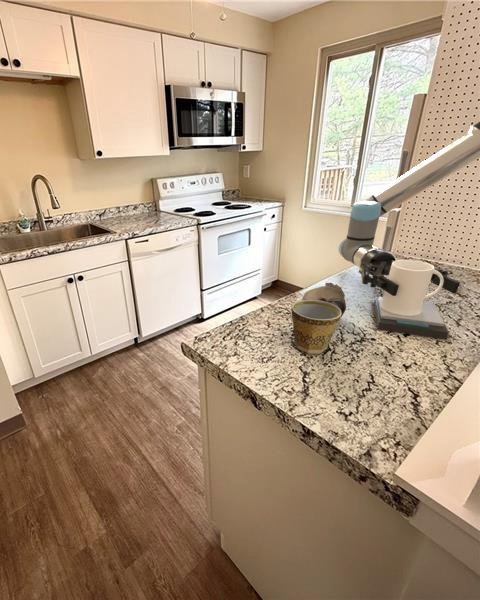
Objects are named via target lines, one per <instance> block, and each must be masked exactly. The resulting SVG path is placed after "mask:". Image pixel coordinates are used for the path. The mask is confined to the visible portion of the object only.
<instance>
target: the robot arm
mask: <svg viewBox="0 0 480 600" xmlns="http://www.w3.org/2000/svg"><path fill="white" fill-rule="evenodd" d="M479 159H480V121H478V122H476V123H475V124H474V125H472V126H470V129H469V131H468V132H467V134H465V135H463V136H462V137H461V138H459V139H457V140H455V141H454V142H452V143H451V144H449V145H448V146H446V147H445V148H443V149H442V150H440V151H438V152H437V153H436V154H433V155H432V156H431V157H429V158H428V159H426V160H424V161H422V162H421V163H420V164H418V165H417V166H415V167H413V168H412V169H410V170H409V171H407V172H405V174H403V175H401V176H400V177H398V178H397V179H395V180H394V181H392V182H390V183H389V184H387V185H386V186H384V187H383V188H381V189H379V190H378V191H377V192H375V193H374V194H372V195H371V196H369V197H367V198H366V199H364V200H360V201H357V202H355V203H353V204H352V208H351V210H350V217H349V221H348V229H347V234H346V237H345V238H344V239H343V240H342V241H341V242H340V244H339V245H338V253H339V255H340V256H341V257H342V258H343V259H344V261H345V260H346V261H347V262H350V263H351V264H353V265H355V266H356V267H358V274H360V275H361V283H362V284H363V285H368V284H370V286H369V287H370V288H373V289H375V288H377V287H378V288H379V289H382V290H383V291H384V292H385V291H386V292H388V293H389V294H391V295H392V296H396V294H397V291H398V287H399V285H397V284H395V283H394V282H392V281H390V280H389V279H388V277H386V276H389V273H390V269H391V265H392V262H394V261H397V260H396V257H395V256H394V255H393V254H392V253H390V252H389V251H386V250H384V249H382V248H380V247H377V246H375V245H374V241H375V238H376V233H377V228H378V224H379V221H380V217H383V216H384V215H385V214H387V213H389V212H390V211H392V210H393V209H395V208H397V207H399V206H401V205H402V204H404V203H405V202H407V201H409V200H411V199H413V198H414V197H416V196H417V195H420V194H421V193H423V192H424V191H426V190H427V189H429V188H431V187H433V186H435V185H436V184H438V183H440V182H441V181H443V180H444V179H447V178H448V177H450V176H451V175H453V174H455V173H456V172H459V170H462V169H463V168H466V167H467V166H468V165H471V164H472V163H473V162H475V161H477V160H479ZM434 270H437V271H438V272H440V273H441V274H442V276H443V279H444V282H443V286H442V288H441V289H443V290H446V291H447V292H449V293H452V294H457V293H458V289H459V287H460V284H461V282H460V281H457V280H455V279H453V278H451V277H449V276H448V273H449V271H448V270H446V269H442V268H441V269H440V268H436V267H435V268H434ZM430 282H432V284H434V285H436V286H437V287H438V286H439V284H440V278H439V276H438V275H436V274H432V277H431V280H430Z"/></svg>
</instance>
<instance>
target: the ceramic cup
mask: <svg viewBox="0 0 480 600" xmlns="http://www.w3.org/2000/svg"><path fill="white" fill-rule="evenodd" d="M301 300H302V299H301ZM301 300H298V301H296V302H294V303H293V304H292V305H291V320H292V321H291V322H292V328H293V329H292V330H293V337H294V338H293V339H294V344H295V347H296V349H298V350H300V351H302V352H304V353H307V354H314V355H315V354H316V355H319V354H322V353H323V352H324V351H326V350H327V348H328V347H329V344H330V341H331V339H332V337H333V335H334V333H335V330H336V329H337V327H338V325H339V322H340V320H341V317H342V316H341V314H342V312H341V310H340V309H339V308H338V307H337V306H335V305H333V304H331V303H328V302H324V301H319V300H309V299H304V300H302V301H301Z"/></svg>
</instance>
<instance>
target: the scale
mask: <svg viewBox="0 0 480 600" xmlns="http://www.w3.org/2000/svg"><path fill="white" fill-rule="evenodd" d="M382 299H383V296H377V297H375V298H374V301H373V309H374V310H373V311H374V315H375V323H376V328H377V330H382V331H388V332H395V333H399V334H406V335H407V334H408V335H412V336H413V335H414V336H420V337H427V338H434V339H441V340H447V339H448V336H449V334H450V331H449V330H448V327H447V326H446V324H445V321H444V320H443V318H442V316H441V314H440V311H439V310H438V307H437V306H436V304H435V302H433V301H424V302H423V305H422V312H421V314H419V315H416V316H402V315H396V314H392V313H389V312H387V311H385V310H383V309H382V308H381V307H380V303H381V302H382Z"/></svg>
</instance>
